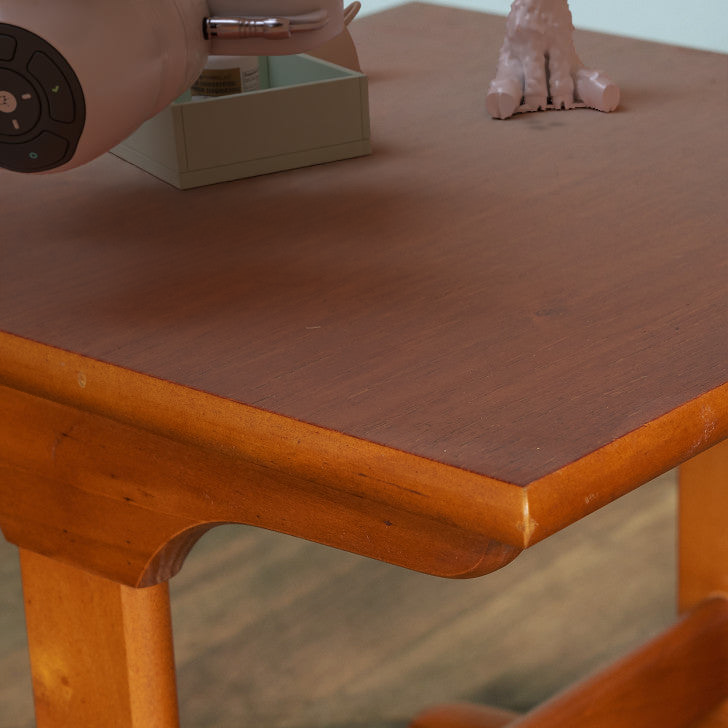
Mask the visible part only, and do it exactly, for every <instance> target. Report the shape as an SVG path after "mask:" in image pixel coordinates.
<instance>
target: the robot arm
mask: <svg viewBox="0 0 728 728" xmlns="http://www.w3.org/2000/svg"><path fill="white" fill-rule="evenodd" d="M344 9H345V5H344V0H0V169H1V170H5V171H7V172H11V173H15V174H21V175H34V176H36V175H37V176H44V175H54V174H60V173H64V172H68V171H71V170H73V169H76V168H79V167H81V166H84V165H86V164H88V163H91V162H93V161H94V160H96V159H98V158H99V157H101V156H103V155H104V154H107V153H108V152H109V151H110V150H111V149H113V148H114V147H115V146H117V145H118V144H120V143H121V142H123V141H124V140H126V139H127V138H128V137H130V136H131V135H132V134H133V133H134V132H135V131H136V130H137V129H138V128H139V127H140V126H141V125H142V124H143V123H144V122H145V121H147V120H149V119H151V118H153V117H154V116H156V115H157V114H158V113H160V112H161V111H162V110H164V109H165V108H166V107H167V106H168V105H170V104H171V103H172V102H173V101H175V100H176V99H177V98H179V97H180V96H181V95H182V94H184V93H185V92H186V91H187V90H188V89H189V88H190V87H191V86H192V85H193V84H194V83H195V82H196V81H197V79H198V78H199V76H200V75H201V73H202V71H203V70H204V67H205V65H206V63H207V60H208V57H209V56H284V55H294V54H301V53H305V52H308V51H311V50H314V49H316V48H318V47H320V46H322V45H324V44H326V43H328V42H330V41H331V40H333V39H334V38H336V37H337V36H339V35H340V34H341V33H342V31H343V28H344Z"/></svg>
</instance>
